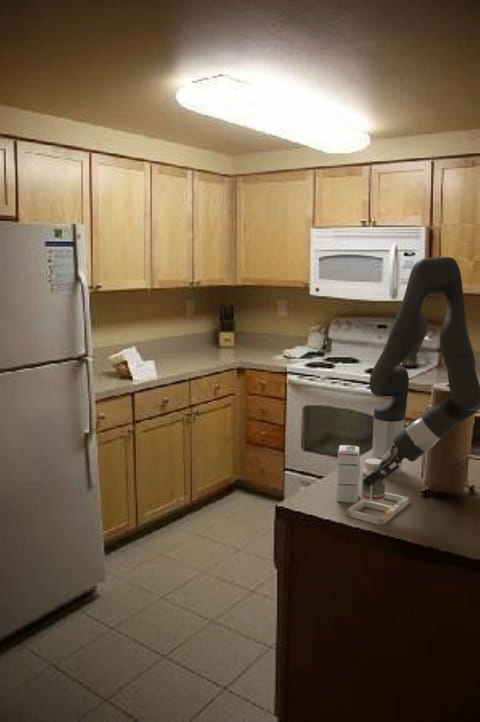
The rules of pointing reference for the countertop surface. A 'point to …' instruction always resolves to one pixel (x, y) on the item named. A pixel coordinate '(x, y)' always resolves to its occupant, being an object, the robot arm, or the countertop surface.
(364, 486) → the pill bottle
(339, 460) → the syrup box
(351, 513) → the plate
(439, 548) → the countertop surface
